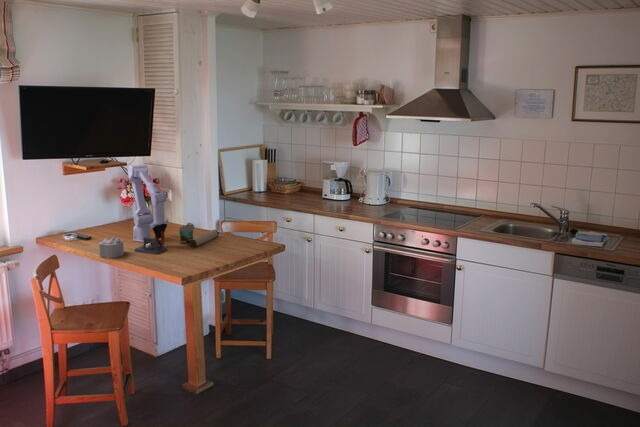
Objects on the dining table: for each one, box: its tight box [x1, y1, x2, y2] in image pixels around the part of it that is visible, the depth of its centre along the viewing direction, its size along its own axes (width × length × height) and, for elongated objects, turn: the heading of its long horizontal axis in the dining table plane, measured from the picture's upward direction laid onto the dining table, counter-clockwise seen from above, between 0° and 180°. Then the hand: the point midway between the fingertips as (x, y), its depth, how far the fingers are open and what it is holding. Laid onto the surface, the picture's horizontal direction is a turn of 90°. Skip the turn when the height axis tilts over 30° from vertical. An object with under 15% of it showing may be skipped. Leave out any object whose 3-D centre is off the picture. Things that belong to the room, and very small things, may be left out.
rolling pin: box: [187, 229, 220, 249], centre depth 348 cm, size 32×6×5 cm, turn 159°
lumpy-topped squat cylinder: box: [98, 237, 125, 259], centre depth 320 cm, size 10×13×9 cm
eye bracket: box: [134, 237, 168, 255], centre depth 329 cm, size 10×14×7 cm
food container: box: [178, 222, 195, 245], centre depth 348 cm, size 12×6×10 cm, turn 168°
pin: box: [146, 231, 166, 248], centre depth 332 cm, size 14×4×8 cm, turn 160°
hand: (159, 237), depth 336 cm, fingers closed on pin, 3 cm apart
